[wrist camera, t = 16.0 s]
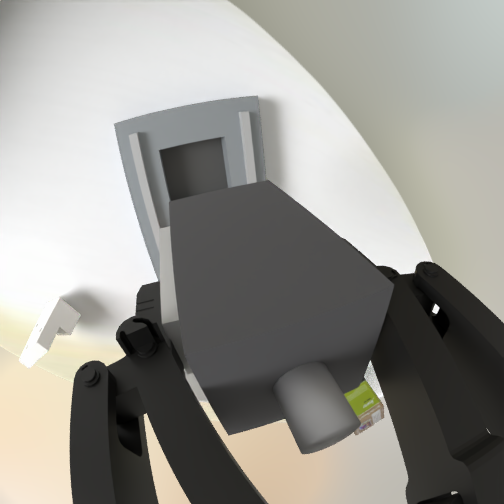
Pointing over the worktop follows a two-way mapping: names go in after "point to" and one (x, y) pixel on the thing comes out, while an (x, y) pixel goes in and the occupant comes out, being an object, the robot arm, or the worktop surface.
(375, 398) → the tea box
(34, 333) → the white wedge bracket
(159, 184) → the socket board
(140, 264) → the worktop surface
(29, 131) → the worktop surface
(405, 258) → the worktop surface
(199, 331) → the plug
